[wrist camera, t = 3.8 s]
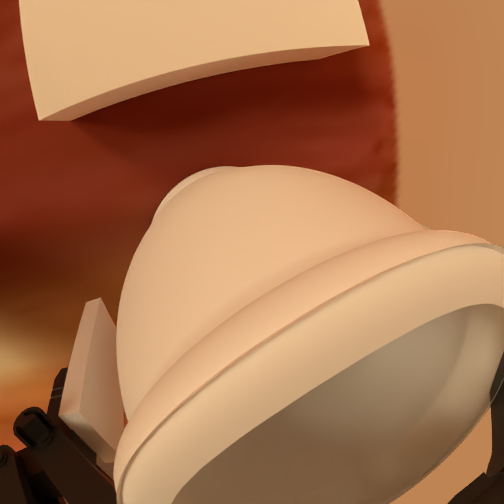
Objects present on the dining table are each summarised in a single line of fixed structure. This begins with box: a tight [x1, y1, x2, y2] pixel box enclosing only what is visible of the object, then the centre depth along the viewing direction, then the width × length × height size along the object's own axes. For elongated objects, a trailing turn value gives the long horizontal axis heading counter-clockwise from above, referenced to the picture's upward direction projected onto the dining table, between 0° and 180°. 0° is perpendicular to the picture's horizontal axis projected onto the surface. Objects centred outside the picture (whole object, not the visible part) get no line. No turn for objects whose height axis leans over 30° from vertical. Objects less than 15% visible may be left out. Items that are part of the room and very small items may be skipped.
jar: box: [114, 165, 504, 504], centre depth 12 cm, size 11×10×15 cm
